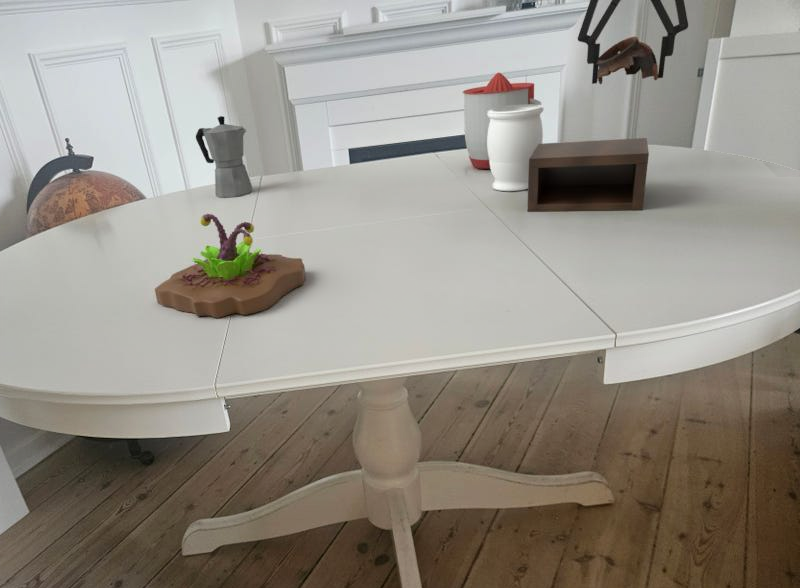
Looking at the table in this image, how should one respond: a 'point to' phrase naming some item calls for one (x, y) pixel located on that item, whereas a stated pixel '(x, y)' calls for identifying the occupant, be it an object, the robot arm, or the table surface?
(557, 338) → the table surface
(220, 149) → the coffeepot
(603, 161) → the stand
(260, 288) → the plant
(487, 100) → the citrus juicer
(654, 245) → the table surface
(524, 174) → the jar
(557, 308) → the table surface
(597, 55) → the robot arm
